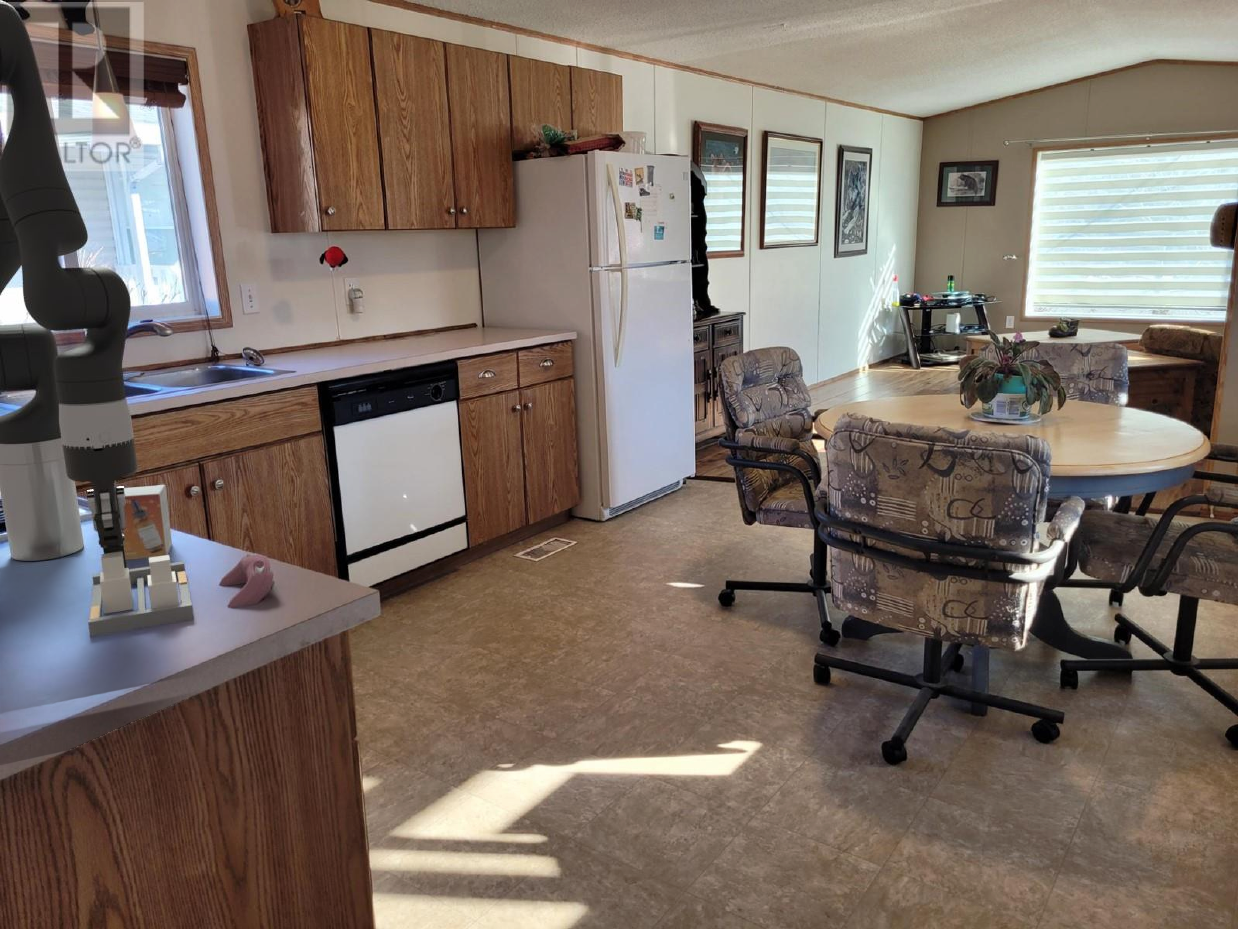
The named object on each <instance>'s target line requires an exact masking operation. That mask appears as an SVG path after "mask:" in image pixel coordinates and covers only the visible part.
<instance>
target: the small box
mask: <svg viewBox="0 0 1238 929" xmlns="http://www.w3.org/2000/svg"><path fill="white" fill-rule="evenodd" d="M166 486H167V485H166V484H157V485H148V486H136V487H135V486H133V487H124V491H125V506H124V508H125V516H126V527H125V528H124V530H123V535H124V534H125V542H124V551H125V558H126V561H127V560H135V559H137V560H139V559H149V558H150V557H157V556H164V555H169V552H170V550H171V548H172V547H173V541H172V540H173V539H172V534H171V533H172V532H171V522H170V514H169V505H168V496H167V487H166Z"/></svg>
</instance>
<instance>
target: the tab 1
mask: <svg viewBox="0 0 1238 929" xmlns="http://www.w3.org/2000/svg"><path fill="white" fill-rule="evenodd" d="M100 561H101V568H102V571H100V574H101V575H100V586H101V593H102V600H103V602H102V608H103V612H104V614H105V615H106V614H111V613H117V612H124V611H130V610H133V609H134V600H133V599H134V598H133V592H132V584H131V582H130V575H129V567H127V568H124V561H123V554H122V552H114V553H107V554H104V553H102V554H101V557H100Z"/></svg>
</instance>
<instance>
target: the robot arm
mask: <svg viewBox="0 0 1238 929" xmlns="http://www.w3.org/2000/svg"><path fill="white" fill-rule="evenodd" d="M39 70H40V69H39V65H38V62H37V58H36V54H35V50H34V47H33V44H32V40H31V36H30V34H29V31H28V30H27V27H26V25H25V23H24V21H23V19H22V17H21V16H20V14H19V12H18V11H17V10H16V9H15V7H14V6H13V5H12V4H10V3H8V2H6V1H3V0H0V86H5V87H7V88H8V90H9V92H10V95H11V99H12V105H13V116H12V117H13V118H12V122H11V127H10V129H9V132H8V136H7V139H6V142H5V144H4V147H3V149H2V153H1V156H0V296H1V295H2V293H3V292H4V290H5V289H6V287H7V286H8V285H9V283H10V282H11V280H12V279H13V278H14V277H15V275H16V274H17V272H18V271H19V270H20V269H21V275H22V278H21V280H22V297H23V302H24V307H25V308H26V311H27V312H28V314H29V316H30V317H31V318H32V319H33V320H34V321H35V322H36V323H30V324H29V323H28V324H27V323H26V324H22V323H21V324H3V325H0V393H5V392H7V393H10V392H20V391H21V392H22V391H23V392H24V391H35V394H34V396H33V398H31V400H30V401H28V402H27V403H25V404H24V405H22V406H21V407H19V408H18V409H16V410H13V411H11V412H8V413H6V414H3V415H0V498H1V503H2V504H1V506H2V510H3V515H4V517H3V518H4V523H5V528H6V535H7V542H8V547H9V553H10V557H11V559H13V560H16V561H22V562H23V561H24V562H35V561H45V560H52V559H57V558H60V557H61V558H62V557H66V556H68V555H72V554H74V553H76V552H78V551H81V550H82V549H83V548H84V546H85V543H84V536H83V529H82V524H81V514H80V508H79V503H78V495H77V488H76V482H78V483H84V482H88V483H91V485H92V489H88V490H87V494H86V502H87V507H88V509H89V510H90V511H91V517H92V523H93V524H92V525H93V529H94V531H95V532H97V536H98V545H99V546H100V548H102V550H103V554H107V553H114V552H122V554H123V561H124V568H128V567H127V565H128V564H127V560H126V558H125V551H124V542H125V534H124V535H123V530H124V528H125V527H126V516H125V508H124V506H125V491H124V488H125V486H117V479H124V478H127V477H131V476H132V475H134V474H135V473H136V472H137V471H138V468H139V466H138V459H137V452H136V444H135V437H134V436H135V435H134V429H133V428H134V427H133V422H132V415H131V412H130V408H129V405H128V401H127V400H128V399H127V394H126V387H125V386H126V385H125V380H124V372H123V359H124V354H125V348H126V339H127V333H128V327H129V323H130V317H131V308H132V307H131V302H132V301H131V296H130V292H129V289H128V287H127V285H126V283H125V281H124V280H123V278H122V277H121V276H120V275H119V274H118V273H117V272H116V271H114V269H110V268H108V267H101V266H100V267H98V266H93V267H91V266H90V267H87V266H86V267H62V266H61V264H60V260H59V258H60V257H62V256H67V255H69V254H72V253H75V252H77V251H80V250H81V249H82V248H83V247H84V246H85V245H86V244H87V242H88V238H89V236H88V234H89V233H88V230H87V226H86V224H85V221H84V219H83V217H82V214H81V211H80V209H79V206H78V204H77V201H76V199H75V196H74V193H73V191H72V188H71V186H70V184H69V182H68V181H69V180H68V179H67V175H66V172H65V170H64V167H63V166H64V165H63V163H62V159H61V157H60V153H59V149H58V145H57V139H56V136H55V132H54V128H53V127H54V126H53V123H52V118H51V115H50V110H49V106H48V105H49V104H48V101H47V98H46V94H45V90H44V86H43V85H44V84H43V82H42V76H41V74H40V71H39ZM86 329H87V331H86V334H85V337H84V340H83V342H82V343H81V344H80V345H79V346H77V347H76V348H75V347H74V348H72V349H69V350H67V351H63V352H61V353H59V352H58V351H59V350H58V346H57V343H56V342H57V340H56V338H55V335H54V333H53V332H64V331H65V332H66V331H73V330H74V331H75V330H86Z"/></svg>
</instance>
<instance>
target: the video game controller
mask: <svg viewBox="0 0 1238 929" xmlns="http://www.w3.org/2000/svg"><path fill="white" fill-rule="evenodd" d="M239 584H240V585H241V584H244V585H243V587H242V588H241V589H240V590H239V591H238V592H237V593H236V594H235V595H234V596H233V597H232V598H231V599H230V600H229V602H228V603H227V608H239V607H245V606H249V605H254V604H257V603H260V602H261V601H262V599H263V598H265V597H266V596H267V595H268V593H269V592H270V591H272V590H273V589H274V588H275V586H276V581H275V580H274V571H273V570H271V564H270V560H269V558H268V557H267V556H266V555H264V554H261V553H253V554H251V553H250V552H247V554H246V556H245V555H244V556H243V557H242V558H241V560H239V562H238V563H237V564H235V567H233V568H232V569H231V570H229V572H227V573H226V574H225V575H224V576H223V577H222V578H221V580H220V581H219V584H218V586H222V587H225V586H233V585H239Z"/></svg>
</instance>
